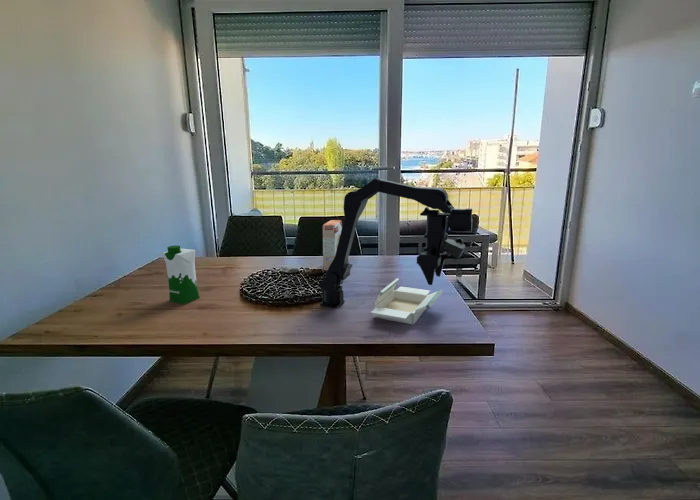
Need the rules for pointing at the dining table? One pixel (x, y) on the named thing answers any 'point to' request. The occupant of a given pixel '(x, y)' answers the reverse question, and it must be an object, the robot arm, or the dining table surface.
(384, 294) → the flap
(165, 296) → the dining table surface
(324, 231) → the cracker box
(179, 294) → the milk carton
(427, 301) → the flap
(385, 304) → the carton
